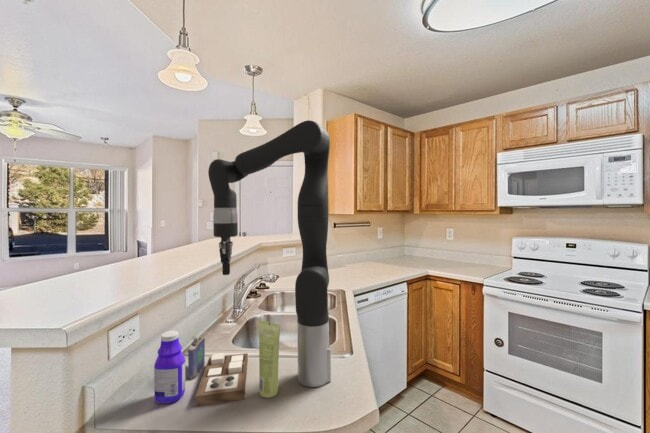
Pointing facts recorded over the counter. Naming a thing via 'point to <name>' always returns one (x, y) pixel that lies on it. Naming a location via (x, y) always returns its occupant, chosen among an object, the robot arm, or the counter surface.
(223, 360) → the button back outer
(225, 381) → the panel
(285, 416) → the counter surface
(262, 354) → the tube
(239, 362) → the button front inner
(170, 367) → the bottle
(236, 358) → the button back inner
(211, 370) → the button front outer
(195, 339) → the flask
